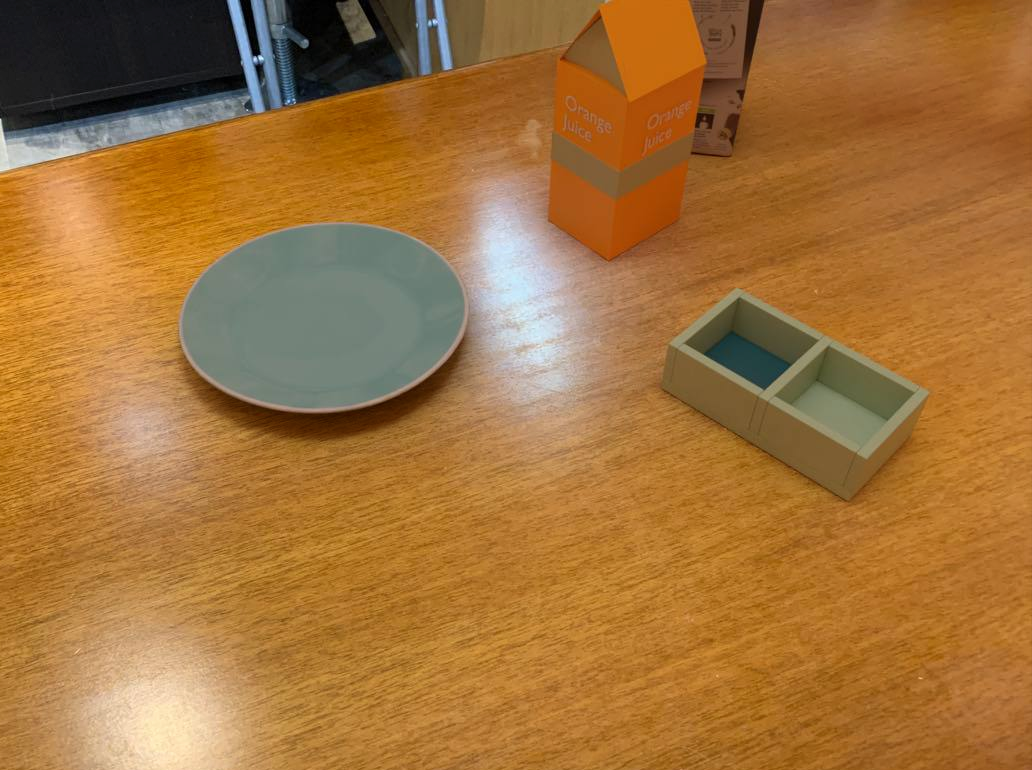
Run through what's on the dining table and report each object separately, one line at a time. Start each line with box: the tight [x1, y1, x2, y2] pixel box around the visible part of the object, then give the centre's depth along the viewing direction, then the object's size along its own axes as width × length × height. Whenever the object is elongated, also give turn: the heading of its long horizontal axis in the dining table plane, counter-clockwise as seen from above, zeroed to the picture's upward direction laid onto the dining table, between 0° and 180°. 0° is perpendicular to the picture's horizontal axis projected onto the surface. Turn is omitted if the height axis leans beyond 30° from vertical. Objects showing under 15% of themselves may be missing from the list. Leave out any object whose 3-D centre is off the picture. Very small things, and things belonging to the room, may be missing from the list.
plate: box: [177, 221, 471, 414], centre depth 84 cm, size 22×22×3 cm
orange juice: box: [547, 0, 707, 262], centre depth 87 cm, size 8×9×20 cm
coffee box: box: [689, 0, 766, 157], centre depth 97 cm, size 9×6×16 cm
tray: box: [660, 287, 931, 503], centre depth 79 cm, size 16×9×4 cm, turn 47°
